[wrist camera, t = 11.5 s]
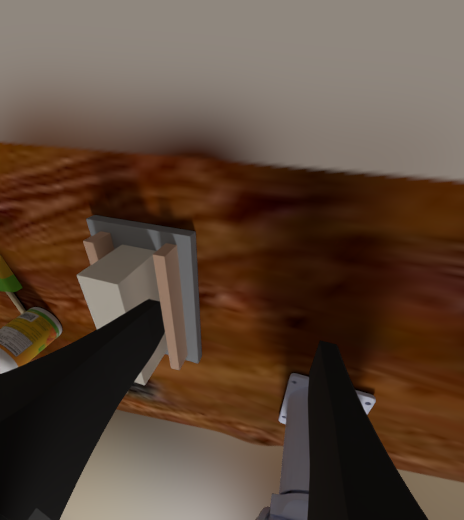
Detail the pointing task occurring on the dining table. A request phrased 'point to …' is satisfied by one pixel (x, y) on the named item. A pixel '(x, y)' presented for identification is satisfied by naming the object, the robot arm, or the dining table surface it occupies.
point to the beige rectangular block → (122, 291)
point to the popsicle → (10, 284)
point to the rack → (160, 276)
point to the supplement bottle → (26, 337)
